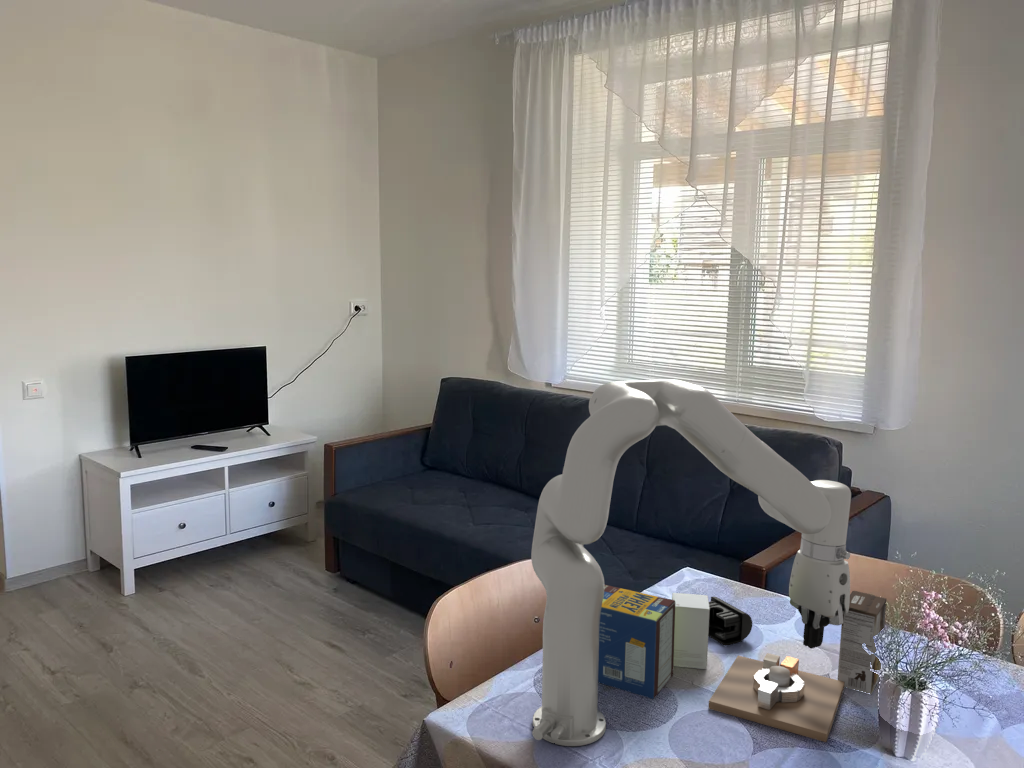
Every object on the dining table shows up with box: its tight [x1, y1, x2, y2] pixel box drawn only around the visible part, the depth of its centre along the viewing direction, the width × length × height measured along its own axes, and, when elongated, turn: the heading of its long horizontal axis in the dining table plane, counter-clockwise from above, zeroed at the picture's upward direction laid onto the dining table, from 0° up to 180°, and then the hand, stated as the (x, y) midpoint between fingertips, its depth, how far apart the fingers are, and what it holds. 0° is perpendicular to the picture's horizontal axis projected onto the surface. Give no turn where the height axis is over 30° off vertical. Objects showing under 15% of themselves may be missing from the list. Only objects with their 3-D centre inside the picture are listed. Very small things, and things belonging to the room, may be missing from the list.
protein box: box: [598, 584, 675, 700], centre depth 153 cm, size 10×15×16 cm
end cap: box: [708, 596, 753, 647], centre depth 172 cm, size 10×7×7 cm
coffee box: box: [837, 590, 887, 695], centre depth 152 cm, size 9×6×16 cm
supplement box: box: [671, 592, 710, 670], centre depth 160 cm, size 7×7×13 cm
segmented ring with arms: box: [753, 655, 805, 710], centre depth 146 cm, size 16×8×3 cm, turn 143°
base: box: [708, 652, 845, 743], centre depth 146 cm, size 20×20×6 cm
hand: (812, 645), depth 146 cm, fingers closed
